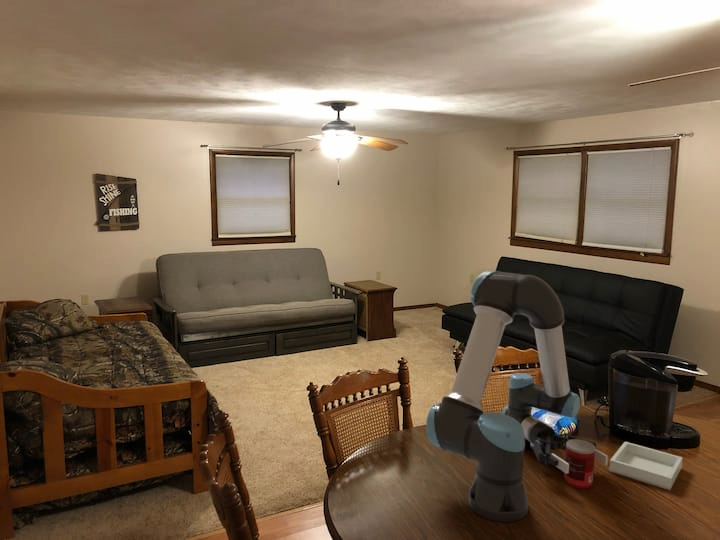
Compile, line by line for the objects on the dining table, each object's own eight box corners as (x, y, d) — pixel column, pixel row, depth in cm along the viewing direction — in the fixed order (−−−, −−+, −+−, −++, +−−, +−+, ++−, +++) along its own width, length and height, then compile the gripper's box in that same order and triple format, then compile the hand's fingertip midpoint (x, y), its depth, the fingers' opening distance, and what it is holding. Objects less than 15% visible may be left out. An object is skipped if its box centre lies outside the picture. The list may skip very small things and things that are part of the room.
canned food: (587, 475, 159) (590, 439, 158) (596, 490, 151) (599, 452, 150) (560, 473, 160) (562, 438, 158) (568, 488, 152) (570, 451, 151)
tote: (670, 490, 152) (671, 478, 151) (609, 471, 162) (610, 460, 161) (681, 468, 164) (682, 457, 163) (624, 451, 174) (624, 441, 173)
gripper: (569, 438, 177) (621, 469, 157) (503, 450, 168) (549, 485, 148) (570, 416, 175) (623, 445, 156) (504, 427, 167) (551, 459, 147)
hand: (587, 464), depth 152 cm, fingers open, 13 cm apart
